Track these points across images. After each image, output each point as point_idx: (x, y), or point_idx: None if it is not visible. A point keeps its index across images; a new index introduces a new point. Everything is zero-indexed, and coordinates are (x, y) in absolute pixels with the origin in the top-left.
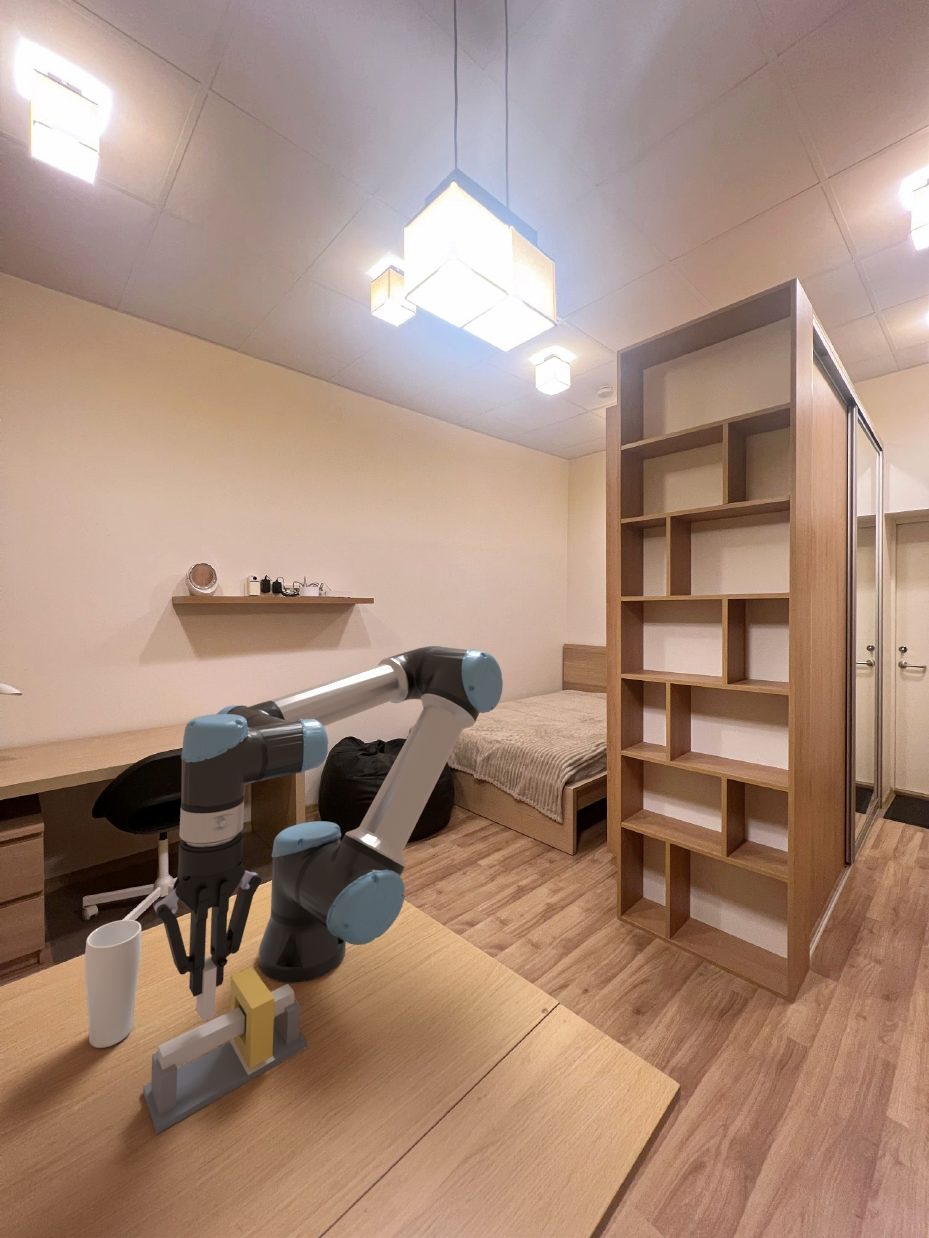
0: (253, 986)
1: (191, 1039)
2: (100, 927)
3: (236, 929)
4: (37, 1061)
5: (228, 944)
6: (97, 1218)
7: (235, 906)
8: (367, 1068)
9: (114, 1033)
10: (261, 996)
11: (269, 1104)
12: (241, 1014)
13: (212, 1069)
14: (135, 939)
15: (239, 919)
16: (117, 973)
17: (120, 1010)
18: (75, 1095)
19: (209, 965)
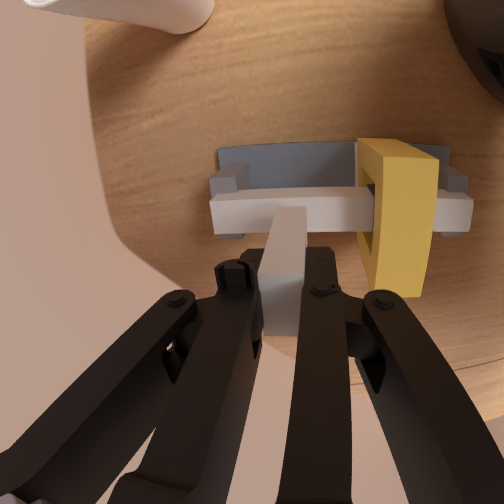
0: (409, 236)
1: (266, 224)
2: None
3: (382, 423)
4: (105, 25)
5: (359, 350)
6: (177, 278)
7: (429, 461)
8: (462, 299)
9: (178, 30)
10: (405, 278)
11: (359, 273)
12: (369, 220)
13: (314, 182)
14: None
15: (397, 460)
16: (112, 13)
17: (169, 21)
18: (143, 103)
19: (286, 318)
